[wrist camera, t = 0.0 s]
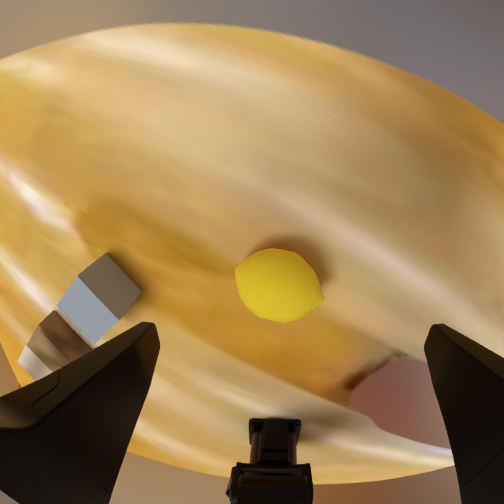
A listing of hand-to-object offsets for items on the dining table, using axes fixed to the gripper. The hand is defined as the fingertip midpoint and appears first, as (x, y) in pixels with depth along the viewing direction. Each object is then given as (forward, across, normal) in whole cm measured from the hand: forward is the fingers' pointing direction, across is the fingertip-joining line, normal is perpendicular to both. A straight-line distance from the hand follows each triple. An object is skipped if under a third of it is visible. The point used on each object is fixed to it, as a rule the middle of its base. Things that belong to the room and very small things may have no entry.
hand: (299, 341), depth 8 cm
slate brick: (+15, +16, +7) cm, 23 cm away
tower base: (+15, +27, +16) cm, 35 cm away
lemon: (+15, 0, +5) cm, 16 cm away
